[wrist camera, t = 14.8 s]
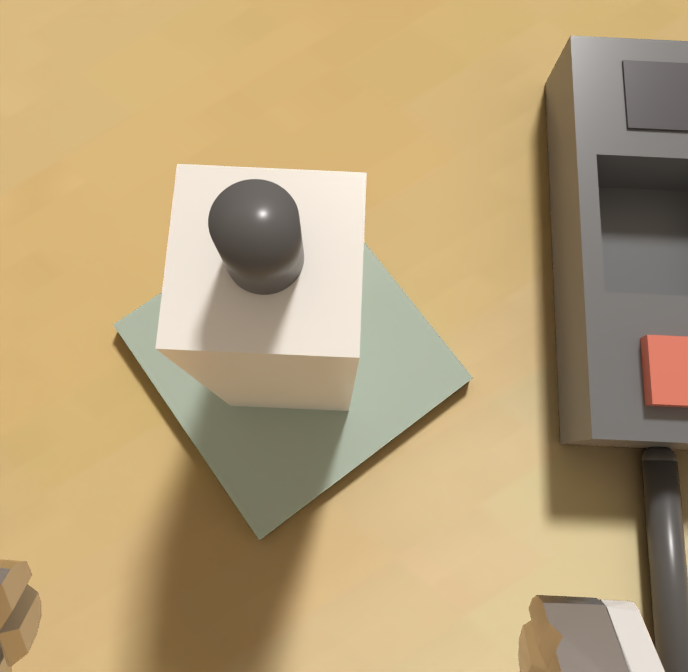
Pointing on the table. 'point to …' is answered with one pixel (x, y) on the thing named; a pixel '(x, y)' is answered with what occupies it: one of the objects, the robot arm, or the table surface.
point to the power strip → (626, 279)
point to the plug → (265, 284)
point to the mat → (307, 424)
